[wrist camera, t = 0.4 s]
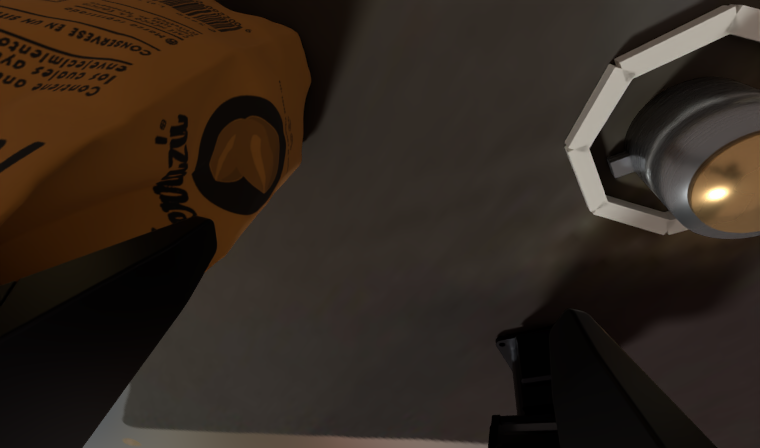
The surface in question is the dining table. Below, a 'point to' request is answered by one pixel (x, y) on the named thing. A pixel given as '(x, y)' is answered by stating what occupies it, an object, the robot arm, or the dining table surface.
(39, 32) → the coffee package
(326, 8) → the dining table surface
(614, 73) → the collar
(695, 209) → the round spotlight head
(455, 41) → the dining table surface
